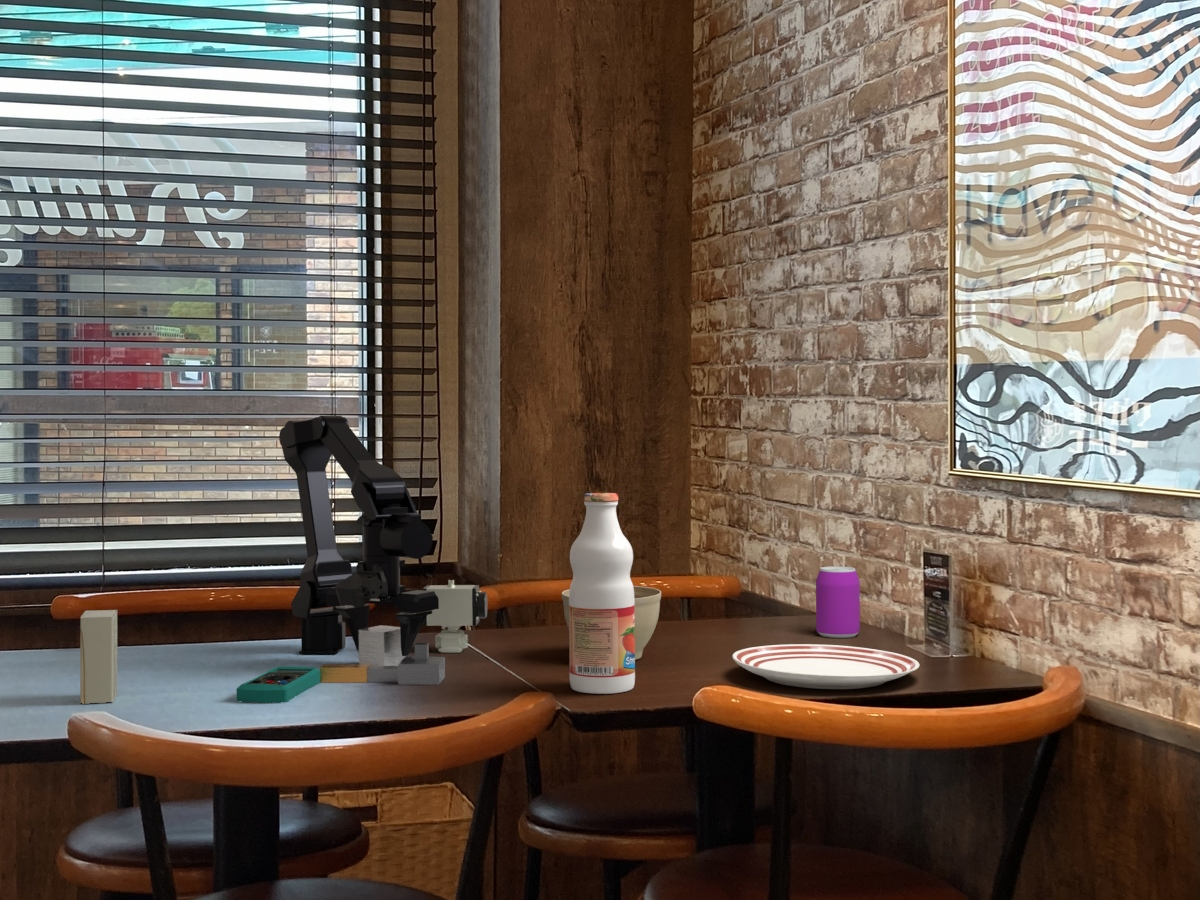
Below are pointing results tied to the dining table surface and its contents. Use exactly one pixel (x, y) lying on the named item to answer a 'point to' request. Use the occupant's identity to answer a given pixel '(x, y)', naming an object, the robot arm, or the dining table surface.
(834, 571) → the beverage can
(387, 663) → the plain white cube
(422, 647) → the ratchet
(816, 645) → the dinner plate
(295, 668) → the digital multimeter
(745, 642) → the dining table surface
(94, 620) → the skincare box
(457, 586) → the pneumatic valve
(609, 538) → the fruit juice
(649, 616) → the planter bowl
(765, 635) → the dining table surface
